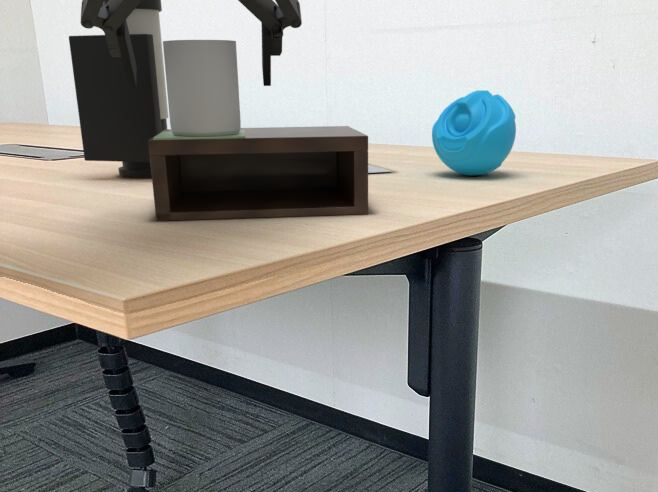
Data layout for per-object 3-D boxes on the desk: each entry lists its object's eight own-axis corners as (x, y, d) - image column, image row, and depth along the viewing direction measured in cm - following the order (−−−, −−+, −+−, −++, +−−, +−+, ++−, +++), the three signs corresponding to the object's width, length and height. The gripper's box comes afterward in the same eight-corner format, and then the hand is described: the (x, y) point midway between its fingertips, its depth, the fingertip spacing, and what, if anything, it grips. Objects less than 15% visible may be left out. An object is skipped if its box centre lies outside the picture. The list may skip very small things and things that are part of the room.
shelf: (156, 220, 76) (147, 138, 74) (170, 197, 91) (164, 127, 88) (368, 214, 79) (368, 133, 76) (348, 192, 94) (348, 124, 91)
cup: (183, 137, 73) (175, 39, 70) (155, 132, 81) (146, 43, 78) (252, 134, 76) (247, 40, 73) (218, 129, 85) (212, 44, 82)
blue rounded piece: (416, 175, 108) (418, 91, 104) (462, 168, 116) (465, 89, 112) (486, 182, 101) (491, 91, 97) (530, 174, 108) (536, 89, 104)
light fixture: (196, 172, 114) (182, -6, 106) (161, 182, 104) (142, -13, 96) (127, 170, 118) (108, -2, 109) (86, 179, 108) (61, -10, 99)
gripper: (3, -101, 55) (73, 106, 74) (340, -94, 58) (323, 103, 77) (11, -165, 58) (76, 50, 77) (331, -155, 61) (317, 49, 80)
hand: (200, 77), depth 77 cm, fingers open, 13 cm apart
